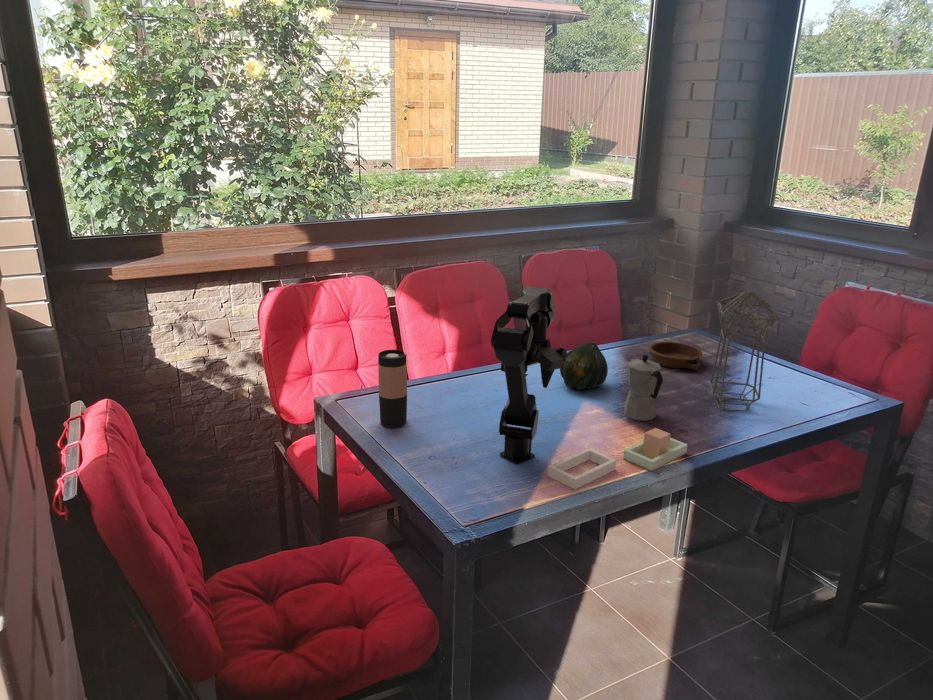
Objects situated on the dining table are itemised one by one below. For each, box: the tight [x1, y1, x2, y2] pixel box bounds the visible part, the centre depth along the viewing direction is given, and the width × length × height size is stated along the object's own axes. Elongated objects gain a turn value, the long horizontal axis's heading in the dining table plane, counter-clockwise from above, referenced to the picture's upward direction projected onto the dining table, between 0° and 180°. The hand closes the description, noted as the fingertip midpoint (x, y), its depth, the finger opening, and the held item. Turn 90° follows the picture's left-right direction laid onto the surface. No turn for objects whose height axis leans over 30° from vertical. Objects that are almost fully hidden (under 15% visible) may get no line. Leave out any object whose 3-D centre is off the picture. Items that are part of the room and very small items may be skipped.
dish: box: [648, 341, 703, 371], centre depth 253 cm, size 18×22×5 cm
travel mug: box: [377, 349, 408, 429], centre depth 200 cm, size 8×8×20 cm
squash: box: [559, 341, 609, 390], centre depth 230 cm, size 14×15×15 cm
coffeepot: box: [623, 354, 664, 422], centre depth 207 cm, size 15×9×18 cm, turn 19°
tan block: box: [643, 427, 671, 459], centre depth 186 cm, size 4×4×6 cm
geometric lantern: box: [709, 290, 781, 413], centre depth 213 cm, size 16×16×35 cm
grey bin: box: [547, 447, 617, 490], centre depth 178 cm, size 15×8×2 cm, turn 131°
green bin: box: [622, 437, 688, 472], centre depth 187 cm, size 15×8×2 cm, turn 131°
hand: (532, 391), depth 195 cm, fingers open, 9 cm apart
